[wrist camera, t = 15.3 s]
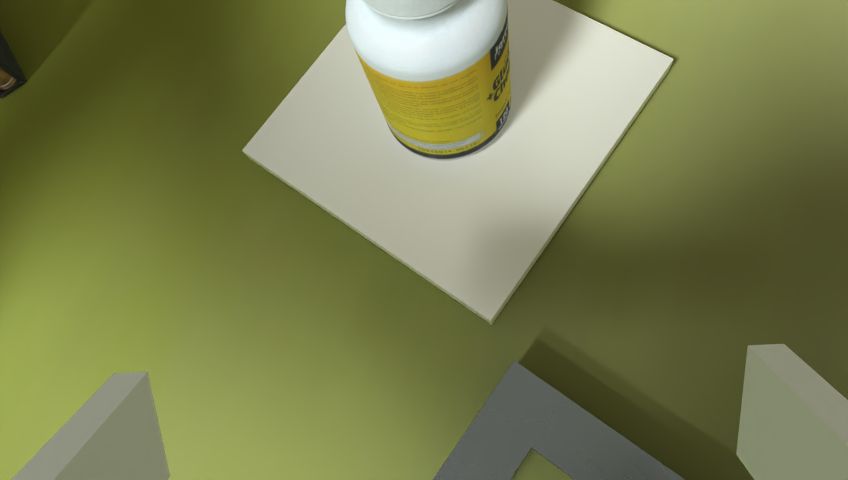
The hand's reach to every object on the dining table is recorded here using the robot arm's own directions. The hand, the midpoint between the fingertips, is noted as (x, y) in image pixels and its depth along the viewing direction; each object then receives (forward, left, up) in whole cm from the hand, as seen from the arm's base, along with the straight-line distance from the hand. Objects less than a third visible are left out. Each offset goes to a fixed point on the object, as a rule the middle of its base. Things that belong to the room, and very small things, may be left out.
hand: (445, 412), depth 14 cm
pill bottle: (-10, +12, -15) cm, 22 cm away
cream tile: (-10, +12, -15) cm, 22 cm away
